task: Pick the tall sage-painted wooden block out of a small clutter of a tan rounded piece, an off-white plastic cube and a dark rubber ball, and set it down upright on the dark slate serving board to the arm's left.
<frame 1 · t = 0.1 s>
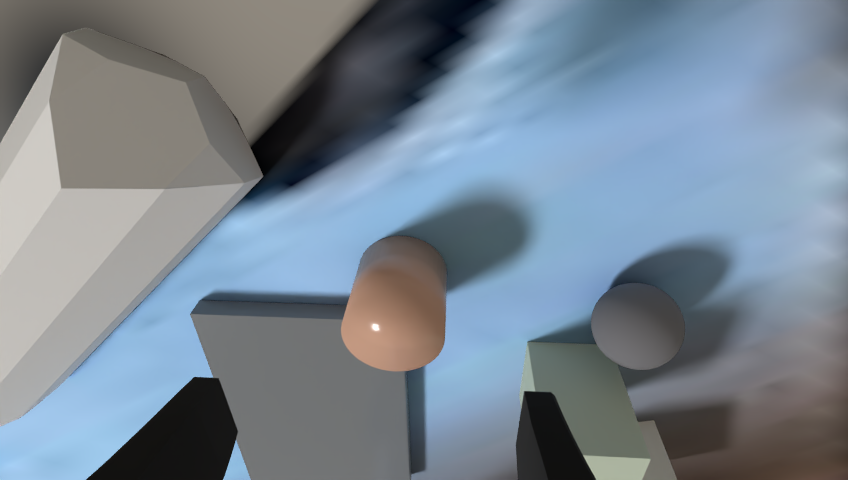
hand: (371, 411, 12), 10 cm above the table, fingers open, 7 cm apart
rubber ball: (624, 297, 22), on the table
tan rounded piece: (403, 272, 22), on the table
sage block: (562, 371, 25), on the table
crystal: (83, 240, 23), on the table
off-white cube: (617, 444, 28), on the table
slate board: (319, 399, 27), on the table
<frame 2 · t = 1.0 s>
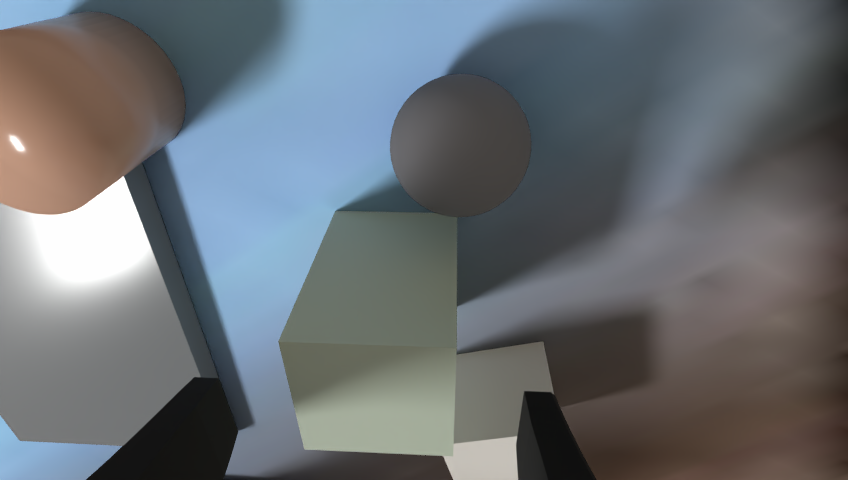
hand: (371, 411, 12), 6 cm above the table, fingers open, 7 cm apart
rubber ball: (459, 123, 14), on the table
tan rounded piece: (116, 86, 14), on the table
sage block: (398, 261, 17), on the table
off-white cube: (501, 381, 20), on the table
slate board: (76, 316, 19), on the table
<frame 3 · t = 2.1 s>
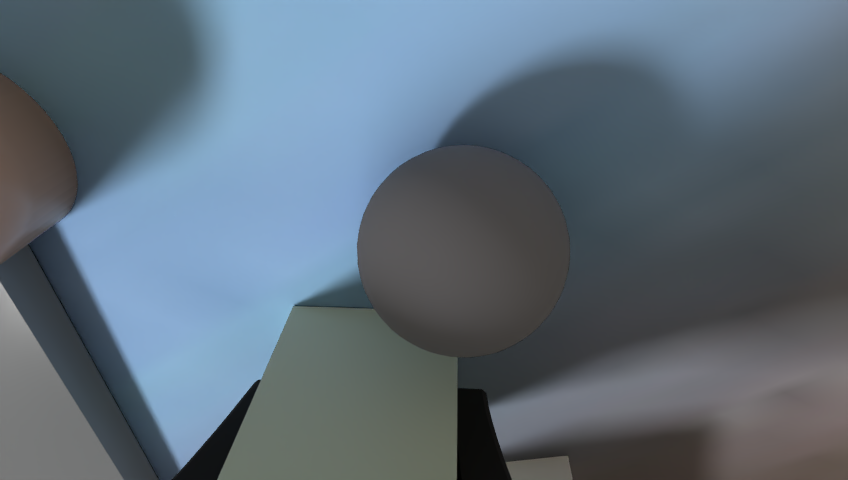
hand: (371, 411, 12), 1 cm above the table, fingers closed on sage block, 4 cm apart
rubber ball: (461, 201, 10), on the table
sage block: (380, 366, 13), on the table, touching gripper
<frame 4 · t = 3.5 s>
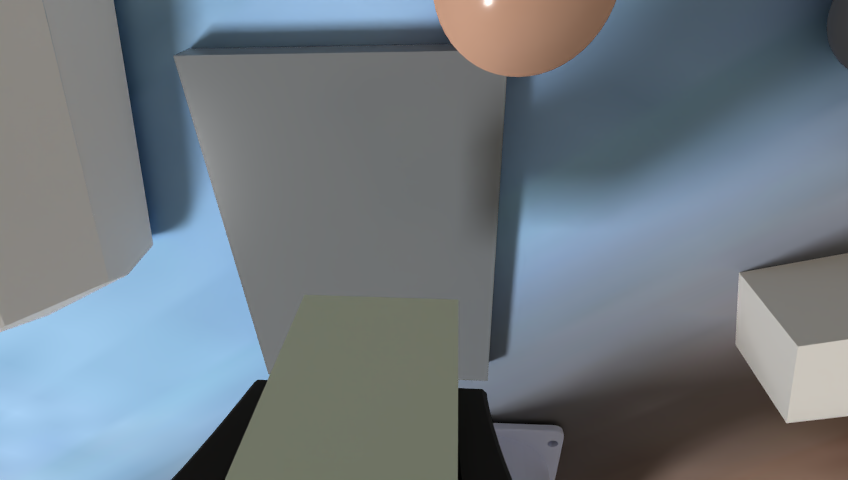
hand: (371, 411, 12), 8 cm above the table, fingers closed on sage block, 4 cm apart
sage block: (384, 352, 13), point 6 cm above the table, touching gripper
off-white cube: (790, 300, 19), on the table
slate board: (365, 235, 19), on the table
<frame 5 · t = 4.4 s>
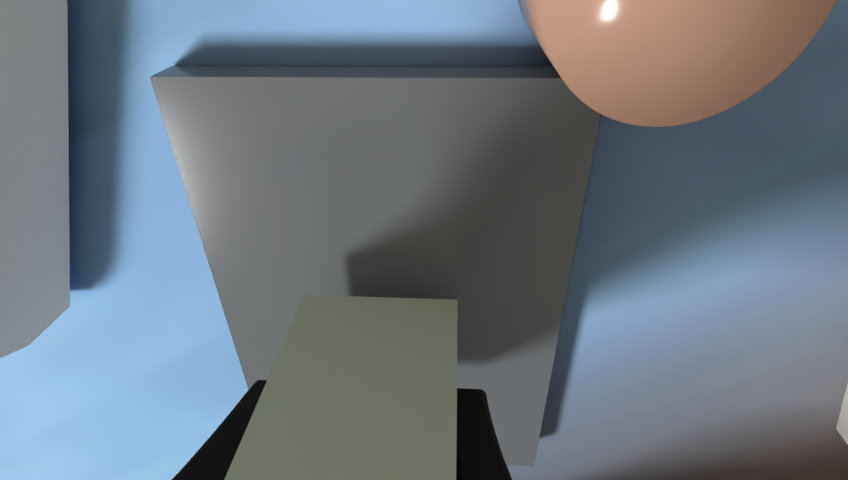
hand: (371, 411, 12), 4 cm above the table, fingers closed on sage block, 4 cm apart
sage block: (384, 352, 14), point 2 cm above the table, touching gripper
slate board: (393, 297, 15), on the table
when the fingers open (4 cm above the table, at t = 4.9 s): sage block stays where it is, resting on slate board.
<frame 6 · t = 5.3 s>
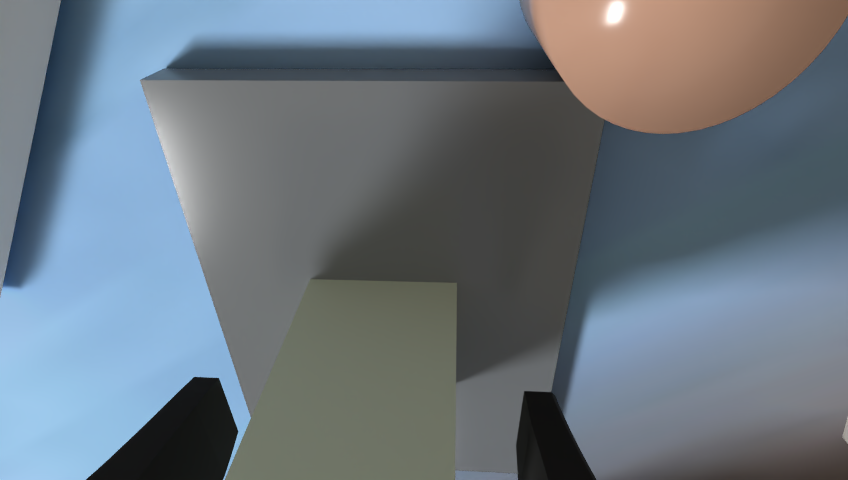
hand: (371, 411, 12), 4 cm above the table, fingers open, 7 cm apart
sage block: (387, 334, 14), point 1 cm above the table, touching slate board
slate board: (391, 304, 15), on the table
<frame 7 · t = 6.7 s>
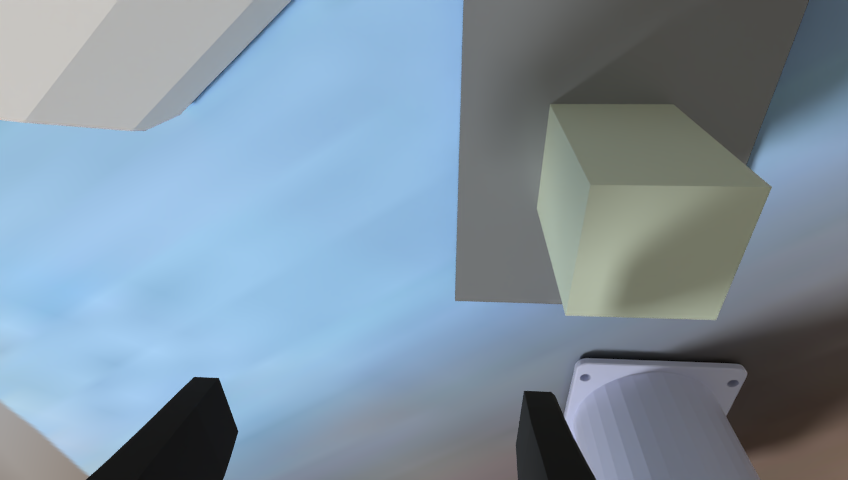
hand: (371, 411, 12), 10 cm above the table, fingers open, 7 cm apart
sage block: (600, 160, 17), point 1 cm above the table, touching slate board
slate board: (595, 141, 18), on the table
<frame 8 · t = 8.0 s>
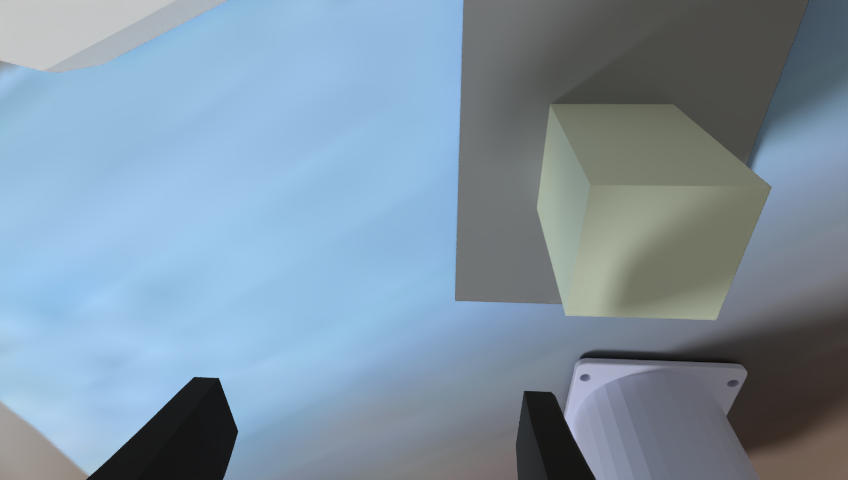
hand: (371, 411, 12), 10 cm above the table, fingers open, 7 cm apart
sage block: (600, 160, 17), point 1 cm above the table, touching slate board
slate board: (595, 141, 18), on the table
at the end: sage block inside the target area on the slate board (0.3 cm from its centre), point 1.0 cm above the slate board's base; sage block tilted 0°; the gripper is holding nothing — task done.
